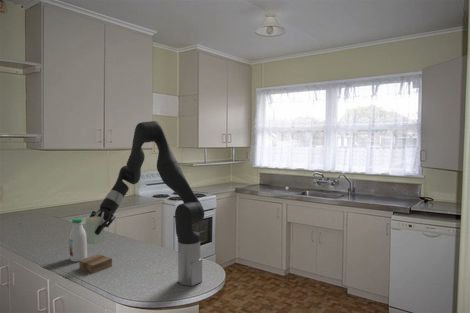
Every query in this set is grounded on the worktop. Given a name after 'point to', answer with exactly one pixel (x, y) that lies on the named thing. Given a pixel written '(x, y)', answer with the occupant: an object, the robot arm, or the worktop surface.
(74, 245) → the milk bottle
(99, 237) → the tea tin
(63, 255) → the worktop surface
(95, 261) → the walnut box
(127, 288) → the worktop surface
